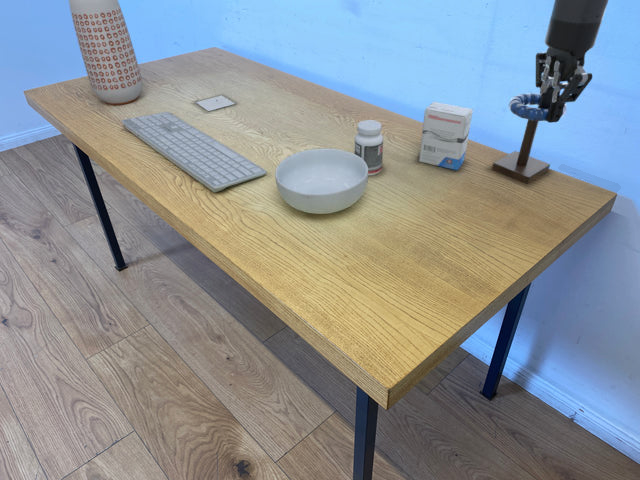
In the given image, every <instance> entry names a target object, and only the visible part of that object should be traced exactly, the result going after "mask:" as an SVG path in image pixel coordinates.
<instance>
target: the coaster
mask: <svg viewBox="0 0 640 480" xmlns="http://www.w3.org/2000/svg"><path fill="white" fill-rule="evenodd" d="M195 104H197V105H199V106H200V107H201V108H203V109H205V110H206V111H207V112H210V111H215V110H218V109H222V108H225V107H228V106H233V105H235V104H236V102H233V101H232V100H230V99H228V98H227V97H225V96H223V95H219V96H214V97H211V98H207V99H203V100H199V101H196V102H195Z"/></svg>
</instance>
